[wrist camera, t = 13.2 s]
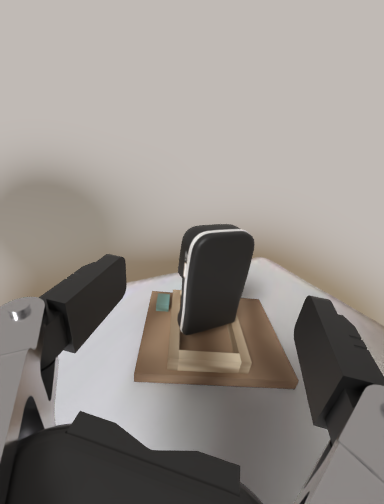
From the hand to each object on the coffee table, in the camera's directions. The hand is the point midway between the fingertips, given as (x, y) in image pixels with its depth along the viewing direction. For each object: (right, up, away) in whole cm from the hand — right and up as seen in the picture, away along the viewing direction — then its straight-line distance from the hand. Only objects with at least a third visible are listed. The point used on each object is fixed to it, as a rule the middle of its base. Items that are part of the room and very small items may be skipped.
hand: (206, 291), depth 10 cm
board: (+2, -8, +18) cm, 20 cm away
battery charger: (+1, -6, +16) cm, 17 cm away
